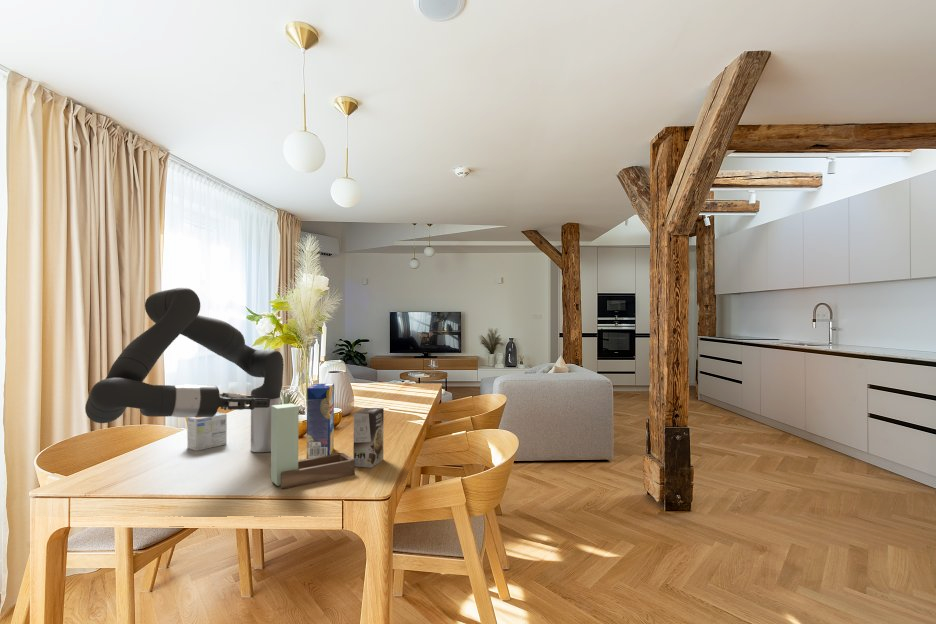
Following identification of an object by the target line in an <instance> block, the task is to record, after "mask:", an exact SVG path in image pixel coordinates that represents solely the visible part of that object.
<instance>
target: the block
mask: <svg viewBox="0 0 936 624" xmlns="http://www.w3.org/2000/svg"><path fill="white" fill-rule="evenodd" d="M299 407H300V406H298V405H296V404H294V403H283V404H281V403H280V405H271V451H270V480H271V481H272V483H273V484H275V485H276V486H278V485H281V472H284V471H290V470H297V469H298V461H299Z"/></svg>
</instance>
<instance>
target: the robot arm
mask: <svg viewBox="0 0 936 624" xmlns="http://www.w3.org/2000/svg"><path fill="white" fill-rule="evenodd" d="M144 310H145V312H146V314H147V316H148V317H149V319H150V320H151V321H152V322H153V323H154V324H153V325H151V326H150V327H149V328H148V329H147V330H144V331H143V332H142V333H141V334H140V335H139V336H137V337H136V338H134V339H133V340H132V341H131V342H129V343H128V345H127V346H126V347H125V348H124V349H123V350H122V352H121V353H120V354H119V355H118V357H117V358H116V360H115V361H114V362H113V363H112V366H111V367H110V368H109V372H108V373H107V376H106V377H105V378H104V379H102V380H99V381H98V382H96V383H95V384H94V385H93V386H92V388H91V390H90V392H89V395H88V397H87V400H86V403H85V407H84V409H85V414H86V416H87V418H88V419H89V420H91V421H92V422H94V423H97V424H107V423H112V422H113V421H116V420H118V419H119V418H120V417H121V416H122V415H123V414H124V412H125V411H126V410H127V408H133V409H138V410H139V412H140V413H141V415H143V416H145V417H151V418H153V417H154V418H155V417H156V418H157V417H163V418H164V417H165V418H166V417H167V418H168V417H172V418H173V417H174V418H187V417H213V416H214V415H215V414H216V413H217V412H218V410H219V408H220V410H224V411H232V410H236V411H238V410H239V411H243V410H250V451H251V452H254V453H269V452H270V453H271V405H281V395H282V389H283V383H284V382H283V380H284V379H283V378H284V367H285V366H284V358H283V354H282V353H281V352H280V351H279V350H274V349H270V350H269V349H267V350H265V349H256V348H252V347H250V346H249V345H247V344H246V340H245V339H246V338H245V337H244V334H242V332H241V331H240V330H239V329H238V328H236V327H234V325H233V326H232V324H230V323H228V322H226V321H224V320H222V319H219V318H214V317H209V316H206V315H205V316H204V315H200V311H201V301H200V298H199V295H198V293H196V292H195V291H194V290H193V289H191V288H190V287H189V288H188V287H176V288H171V289H167V290H161V291H157V292H155V293H153V294H151V295H150V296H148V297H147V299H145V302H144ZM180 335H181V336H184V337H186V338H188V339H189V340H191V341H192V342H195V343H197V345H201V346H202V347H204V348H205V349H207V350H209V351H210V352H212V353H214V354H216V355H218V356H219V357H222V358H224V359H225V360H227V361H228V362H231V363H233V364H235V365H236V366H237V367H239V368H240V369H241V370H243V372H245V373H246V374H247V375H249V376H251V377H254V378H264V379H263V383H262V385H260V386H259V387H256V388H253V389H252V390H251V392H250V395H242V394H240V393H239V394H237V393H234V392H231V393H230V392H222V393H220V389H219V387H218V386H217V385H209V384H207V385H206V384H204V385H203V384H177V385H168V384H167V385H166V384H165V385H164V384H163V385H162V384H160V385H158V384H150V383H147V382H144V380H145V379H146V378H147V376H148V375H149V373H150V372H151V370H152V369H153V368H154V366H155V364H156V363H157V361H158V360H159V359H160V357H161V356H162V355H163V353H164V352H165V351H166V349H168V348H169V347H170V345H172V343H173V342H174V341H175V340H176V339H177V338H178V337H179V336H180Z"/></svg>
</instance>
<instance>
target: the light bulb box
mask: <svg viewBox="0 0 936 624" xmlns="http://www.w3.org/2000/svg"><path fill="white" fill-rule="evenodd" d="M227 416H228V415H227V413H224V412H219V411H217V413H216V414H215V415H214V416H213V417H186V420H187V429H186V430H187V436H186V437H187V449H190V450H192V451H195V452H197V451H201V450H205V449H210V448H216V447H220V446H225V445H227V444H228V443H227V442H228V441H227V437H228V435H227V434H228V433H227V430H228V426H227V425H228V423H227V422H228V421H227V418H228V417H227Z"/></svg>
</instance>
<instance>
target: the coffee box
mask: <svg viewBox="0 0 936 624" xmlns="http://www.w3.org/2000/svg"><path fill="white" fill-rule="evenodd" d="M384 420H385V419H384V407H365V408H362V409H358V410H357V411H355V412H353V451H352V453H353V458H352V459H354V460H355V467H360V468H369V469H371V468H374V467H375V466H376V465H377V464H379V463H380V462H382V461H383V460H384V423H385V422H384Z"/></svg>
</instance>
